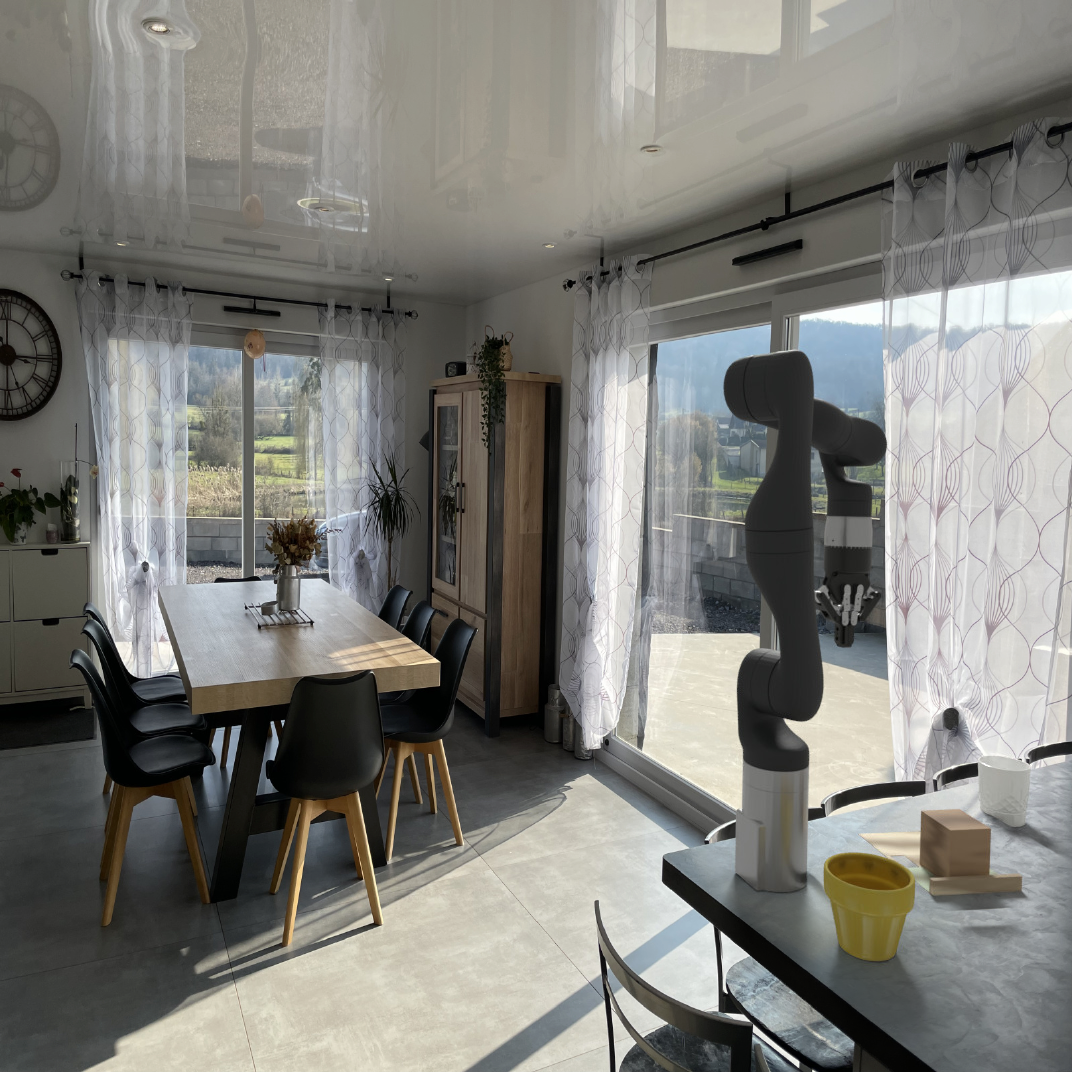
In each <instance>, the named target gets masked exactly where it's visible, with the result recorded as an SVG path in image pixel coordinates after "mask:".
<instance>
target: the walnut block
mask: <svg viewBox="0 0 1072 1072" xmlns="http://www.w3.org/2000/svg"><path fill="white" fill-rule="evenodd" d="M919 831H920V865H922V866H923V867H924V868H925V869H927V870H928V871H929V872H931V873H932V874H933V875H934V876H936V877H937V878H940V877H961V876H981V875H990V869H991V847H992V846H991V845H992V844H991V842H992V828H991V827H990V826H988V825H986V824H985V823H983V822H981V821H980V820H979V819H976V818H975V817H974V816H971V815H970V814H968V813H966V812H964V810H962V809H960V808H953V809H952V808H951V809H949V808H948V809H932V810H931V809H930V810H929V809H927V810H925V809H924V810H921V811H920V830H919Z"/></svg>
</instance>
